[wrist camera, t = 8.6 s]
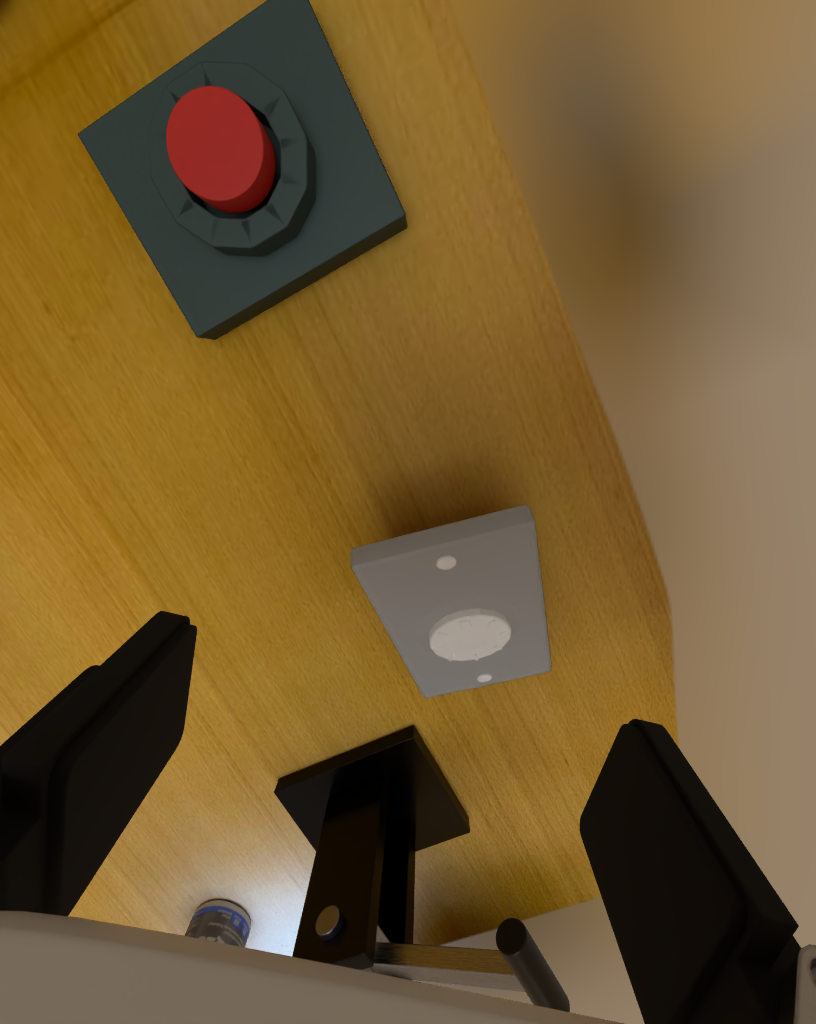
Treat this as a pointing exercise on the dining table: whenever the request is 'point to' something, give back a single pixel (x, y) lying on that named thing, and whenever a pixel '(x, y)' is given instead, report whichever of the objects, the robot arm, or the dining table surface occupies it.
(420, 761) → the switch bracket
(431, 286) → the dining table surface
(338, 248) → the block
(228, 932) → the pill bottle
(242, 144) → the stop button
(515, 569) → the light switch
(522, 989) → the switch lever
